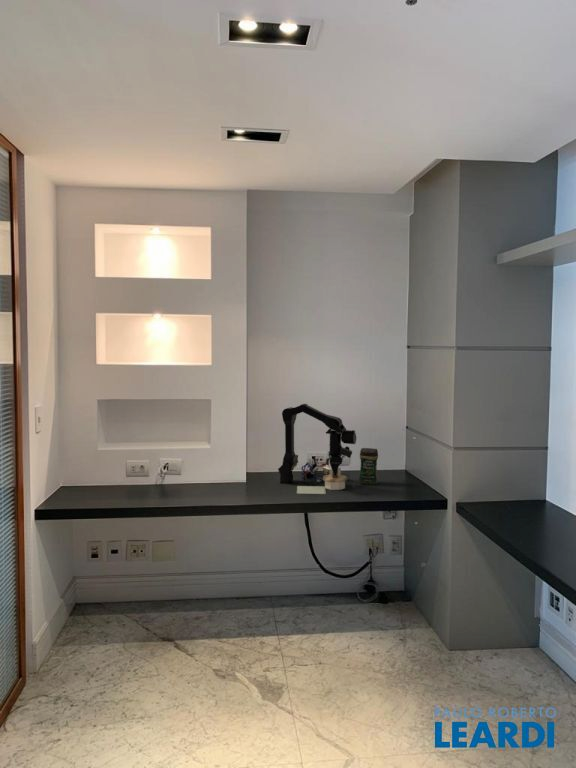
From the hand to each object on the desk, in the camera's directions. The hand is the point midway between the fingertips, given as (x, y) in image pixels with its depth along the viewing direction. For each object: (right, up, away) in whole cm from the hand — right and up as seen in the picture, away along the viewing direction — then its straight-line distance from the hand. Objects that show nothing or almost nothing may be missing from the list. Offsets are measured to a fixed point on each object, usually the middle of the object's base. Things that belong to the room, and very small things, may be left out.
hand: (334, 473), depth 292 cm
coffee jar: (+18, -7, +11) cm, 23 cm away
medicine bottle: (0, -7, +17) cm, 18 cm away
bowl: (0, -8, +1) cm, 8 cm away
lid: (0, -3, 0) cm, 3 cm away
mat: (-12, -8, -5) cm, 15 cm away
